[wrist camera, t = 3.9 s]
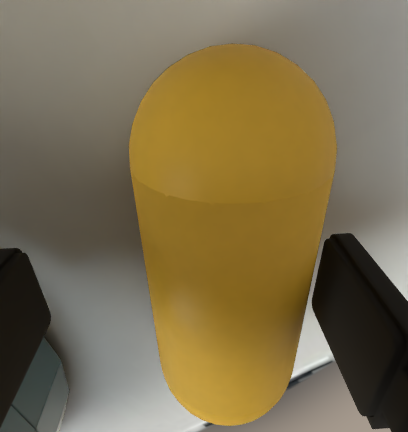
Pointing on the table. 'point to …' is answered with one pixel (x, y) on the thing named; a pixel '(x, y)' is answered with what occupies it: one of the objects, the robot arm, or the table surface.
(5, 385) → the robot arm
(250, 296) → the squash
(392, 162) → the table surface
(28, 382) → the teal shallow dish
